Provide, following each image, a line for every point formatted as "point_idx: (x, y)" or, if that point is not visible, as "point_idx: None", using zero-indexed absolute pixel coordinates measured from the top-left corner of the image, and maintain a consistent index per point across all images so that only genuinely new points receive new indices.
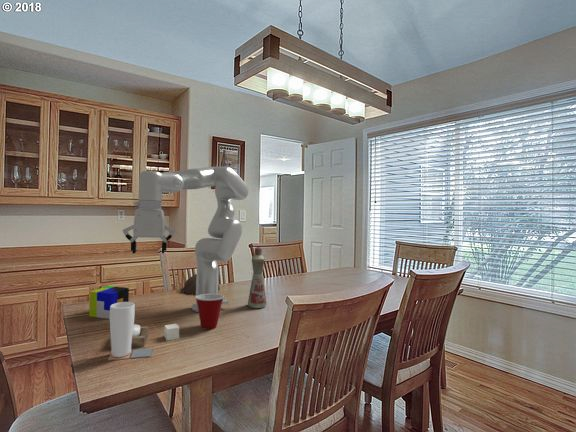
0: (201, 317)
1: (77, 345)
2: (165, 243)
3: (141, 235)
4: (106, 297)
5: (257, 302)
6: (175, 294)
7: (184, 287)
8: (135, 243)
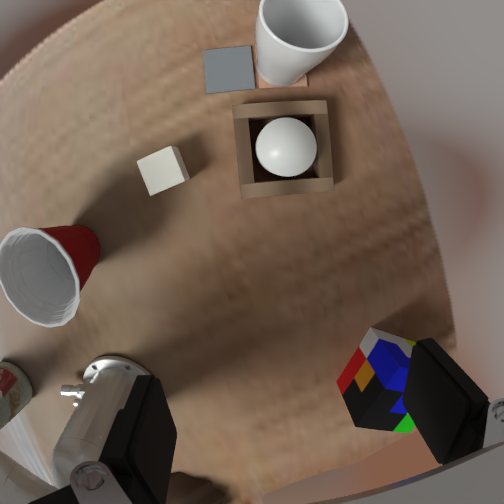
0: (82, 235)
1: (401, 146)
2: (105, 461)
3: (464, 477)
4: (407, 362)
5: (1, 369)
6: (236, 480)
7: (217, 498)
8: (451, 424)
